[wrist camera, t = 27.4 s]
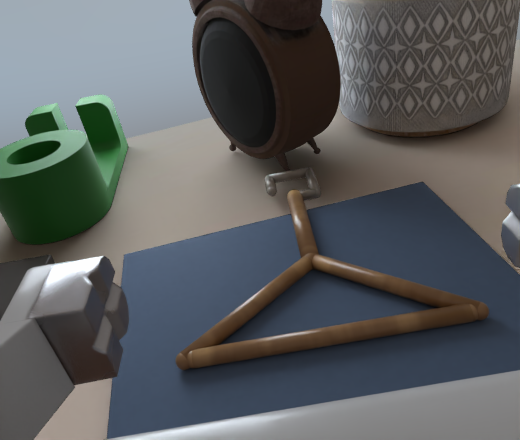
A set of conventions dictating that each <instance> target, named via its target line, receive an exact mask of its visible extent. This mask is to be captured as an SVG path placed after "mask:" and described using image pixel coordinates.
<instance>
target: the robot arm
mask: <svg viewBox="0 0 520 440" xmlns="http://www.w3.org/2000/svg"><path fill="white" fill-rule="evenodd" d="M505 204H506V205H507V206H508V207H509V209H510V210H511V211H512V212H511V213H510V214H509V215H508V216H507V218H506V219H505V220H504V221H503V224H502V233H501V237H502V242H503V247H504V250H505V252H506V254H507V256H508V258H509V259H510V260H511V262H512V263H513V264H514V265H515V266H516V267H519V268H520V184H515V185H511V187H510V189H509V190H508V192H507V197H506V203H505ZM114 274H115V270H114V268H113V266H112V264H111V262H110V260H109V259H108V258H107V257H105V256H101V257H94V258H88V259H81V260H75V261H68V262H62V263H57V264H49V265H44V266H38V267H33V268H31V269H29V270H27V272H26V274H25V276H24V277H23V279H22V281H21V283H20V285H19V287H18V289H17V291H16V292H15V294H14V296H13V298H12V300H11V302H10V304H9V306H8V307H7V309H6V311H5V313H4V315H3V317H2V319H1V321H0V440H33V439H34V438H35V437H36V436H37V434H38V433H39V432H40V431H41V429H42V428H43V427H44V426H45V424H46V423H47V422H48V421H49V419H50V418H51V417H52V416H53V414H54V413H55V412H56V411H57V409H58V408H59V407H60V406H61V404H62V403H63V402H64V401H65V399H66V398H67V397H68V395H69V394H70V393H71V392H72V390H73V389H74V388H75V386H74V385H78V384H83V383H88V382H93V381H98V380H103V379H108V378H113V377H117V376H118V372H119V367H120V362H121V358H122V353H123V348H122V346H121V344H120V341H119V340H120V339H121V338H122V337H123V336H124V335H125V334H126V333H127V329H128V324H129V310H128V304H127V300H126V296H125V294H124V292H123V289H122V288H121V287H119V286H118V285H116V284H115V283H113V278H114ZM105 440H520V370H517V371H511V372H505V373H499V374H493V375H487V376H481V377H475V378H469V379H463V380H457V381H451V382H445V383H439V384H433V385H427V386H421V387H415V388H409V389H403V390H397V391H391V392H385V393H379V394H373V395H367V396H361V397H355V398H349V399H343V400H337V401H331V402H325V403H320V404H314V405H308V406H302V407H296V408H290V409H284V410H278V411H272V412H266V413H260V414H254V415H248V416H242V417H236V418H230V419H224V420H218V421H212V422H206V423H200V424H194V425H188V426H182V427H176V428H170V429H164V430H158V431H152V432H146V433H140V434H135V435H129V436H123V437H117V438H111V439H105Z"/></svg>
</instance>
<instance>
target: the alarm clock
mask: <svg viewBox="0 0 520 440" xmlns="http://www.w3.org/2000/svg"><path fill="white" fill-rule="evenodd" d="M189 1H190V5H191V8H192V10H193V13H194V14H195V16H197V18H196V21H195V25H194V29H193V41H192V48H193V59H194V67H195V73H196V77H197V81H198V85H199V87H200V91H201V93H202V96H203V99H204V101H205V103H206V106H207V108H208V110H209V111H210V114H211V115H212V117H213V119H214V120H215V122H216V123H217V125H218V126H219V128H220V129H221V130H222V131H223V133H224V134H225V135H226V136H227V138H228V139H229V140H230V141H231V145H230V150H231V151H235V150H236V147H237V148H239V149H240V150H241V151H243V152H244V153H246V154H248V155H250V156H252V157H255V158H259V159H267V158H271V157H274V156H275V157H276V159H277V160H278V161H279V163H280V164H281V166H282V167H283V168H284V170H285V172H286V171H291V170H290V169H289V166H288V163H287V160H286V157H285V152H288V151H290V150H293V149H295V148H297V147H299V146H301V145H303V144H305V143H306V142H308V143H309V145H310V146H311V147H312V148H313V149H314V153H315V154H319V153H320V151H321V150H320V149H319V148H317V145H316V143H315V141H314V138H313V137H315V136H316V135H318V134H320V133H321V132H323V131H324V130H325V129H326V128H327V127H328V126H329V124H330V123H331V121H332V120H333V118H334V116H335V113H336V111H337V108H338V104H339V99H340V88H341V80H340V68H339V62H338V57H337V53H336V49H335V46H334V43H333V40H332V38H331V35H330V33H329V31H328V28H327V26H326V24H325V23H324V21H323V19H322V17H321V16H320V14H321V8H322V0H189Z"/></svg>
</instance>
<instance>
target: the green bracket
mask: <svg viewBox="0 0 520 440" xmlns="http://www.w3.org/2000/svg"><path fill="white" fill-rule="evenodd" d="M76 108H77V111H78V114H79V116H80V119H81V121H82V123H83V126H84V129H85V131H86V134H87V136H86V134H85V133H84V132H82V131H78V130H68V128H67V125H66V123H65V121H64V118H63V116H62V113H61V111H60V109H59V106H58V104H57V103H55V104H51V105H45V106H41V107H37V108H36V109H35V110H34V111H33V112H32V113H31V114H30V116H29V117H28V118H27V119H26V122H25V126H26V129H27V131H28V133H29V136H30V137H28V138H24V139H22V140H19V141H16V142H14V143H12V144H10V145H7V146H5V147H3V148H1V149H0V212H1V214H2V216H3V217H4V219H5V221H6V223H7V225H8V226H9V228H10V230H11V232H12V234H13V235H14V237H15V238H16V239H17V240H18V241H20V242H22V243H26V244H46V243H52V242H56V241H60V240H63V239H66V238H69V237H71V236H74V235H76V234H78V233H80V232H82V231H84V230H86V229H88V228H90V227H91V226H93V225H94V224H95V223H97V222H98V221H99V220H101V219H102V218H103V217H104V216H105V215H106V213H107V212H108V211H109V209H110V207H111V205H112V201H113V198H114V194H115V191H116V187H117V183H118V180H119V176H120V173H121V169H122V166H123V162H124V159H125V155H126V152H127V148H128V144H127V141H126V138H125V136H124V133H123V130H122V127H121V124H120V121H119V118H118V116H117V113H116V110H115V107H114V104H113V102H112V100H111V99H110V98H109V97H107V96H105V95H95V96H90V97H85V98H80V100H79V102H78V103H77V105H76Z"/></svg>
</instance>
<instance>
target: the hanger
mask: <svg viewBox="0 0 520 440" xmlns="http://www.w3.org/2000/svg"><path fill="white" fill-rule="evenodd" d="M300 178H306V180H307V183H308V186H309V189H307V190H302V191H299V190H296V189H293V190H291V191H289V193H288V195H287V199H288V204H289V208H290V212H291V217H292V221H293V225H294V230H295V234H296V238H297V243H298V247H299V251H300V256H301V259H299V260H298V261H297V262H295V263H294V264H293V265H292V266H290V267H289V268H288V269H286V270H285V271H284V272H283V273H281V274H280V275H279V276H277V277H276V278H275V279H274V280H272V281H271V282H270V283H269V284H267V285H266V286H265V287H263V288H262V289H261V290H260V291H258V292H257V293H256V294H254V295H253V296H252V297H251V298H249V299H248V300H247V301H245V302H244V303H243V304H242V305H240V306H239V307H238V308H236V309H235V310H234V311H233V312H231V313H230V314H229V315H227V316H226V317H225V318H224V319H222V320H221V321H220V322H218V323H217V324H216V325H215V326H213V327H212V328H211V329H209V330H208V331H207V332H206V333H204V334H203V335H202V336H200V337H199V338H198V339H197V340H195V341H194V342H193V343H191V344H190V345H189V346H188V347H186V348H185V349H184V350H182V351H181V352H180V353H179V354H178V355H177V356H176V360H175V362H176V365H177V367H178V368H179V369H181V370H187V369H189V368H193V369H194V368H200V367H206V366H212V365H218V364H224V363H230V362H236V361H242V360H248V359H254V358H260V357H266V356H272V355H278V354H284V353H290V352H296V351H302V350H308V349H314V348H320V347H326V346H332V345H338V344H344V343H350V342H355V341H361V340H367V339H373V338H379V337H385V336H391V335H397V334H403V333H409V332H415V331H421V330H427V329H433V328H439V327H445V326H451V325H457V324H463V323H469V322H474V321H476V320H484V319H486V318H487V317H488V315H489V308H488V306H487V305H486V304H485V303H483V302H480V301H477V300H473V299H470V298H466V297H463V296H460V295H456V294H453V293H449V292H446V291H442V290H439V289H436V288H432V287H429V286H425V285H422V284H418V283H415V282H412V281H408V280H405V279H401V278H398V277H394V276H391V275H387V274H384V273H381V272H377V271H374V270H370V269H367V268H363V267H360V266H357V265H353V264H350V263H346V262H343V261H339V260H336V259H332V258H329V257H326V256H322V255H319V253H318V249H317V246H316V242H315V239H314V235H313V232H312V228H311V225H310V221H309V217H308V214H307V210H306V207H305V203H304V200H309V199H314V198H318V197H320V195H321V191H320V188H319V185H318V182H317V179H316V176H315V173H314V171H313V169H312V168H310V167H308V168H303V169H297V170H291V171H286V172H280V173H275V174H269V175H267V176H266V177H265V183H266V189H267V193H268V195H270V196H274V195H275V194H276V192H277V189H276V184H275V183H278V182H284V181H289V180H295V179H300ZM312 269H315V270H318V271H321V272H324V273H328V274H331V275H334V276H337V277H340V278H344V279H347V280H350V281H353V282H356V283H360V284H363V285H366V286H369V287H372V288H376V289H379V290H382V291H385V292H388V293H392V294H395V295H398V296H401V297H404V298H408V299H411V300H414V301H417V302H420V303H424V304H427V305H430V306H433V307H436V308H435V309H429V310H423V311H417V312H412V313H406V314H400V315H394V316H388V317H382V318H376V319H370V320H364V321H358V322H352V323H346V324H341V325H335V326H329V327H323V328H317V329H311V330H305V331H299V332H293V333H287V334H281V335H276V336H270V337H264V338H258V339H252V340H246V341H240V342H234V343H228V344H222V345H219V344H220V343H222V342H223V341H224V340H225V339H227V338H228V337H229V336H230V335H232V334H233V333H234V332H235V331H236V330H238V329H239V328H240V327H241V326H243V325H244V324H245V323H246V322H248V321H249V320H250V319H251V318H253V317H254V316H255V315H256V314H257V313H259V312H260V311H261V310H262V309H264V308H265V307H266V306H267V305H269V304H270V303H271V302H272V301H274V300H275V299H276V298H277V297H278V296H280V295H281V294H282V293H283V292H285V291H286V290H287V289H288V288H290V287H291V286H292V285H293V284H295V283H296V282H297V281H298V280H299V279H301V278H302V277H303V276H304V275H306V274H307V273H308V272H309V271H311V270H312Z"/></svg>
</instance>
